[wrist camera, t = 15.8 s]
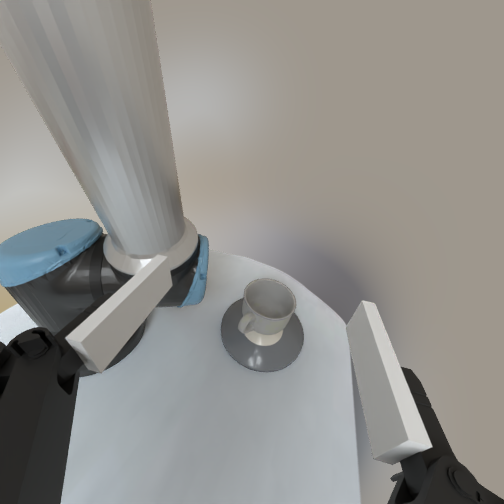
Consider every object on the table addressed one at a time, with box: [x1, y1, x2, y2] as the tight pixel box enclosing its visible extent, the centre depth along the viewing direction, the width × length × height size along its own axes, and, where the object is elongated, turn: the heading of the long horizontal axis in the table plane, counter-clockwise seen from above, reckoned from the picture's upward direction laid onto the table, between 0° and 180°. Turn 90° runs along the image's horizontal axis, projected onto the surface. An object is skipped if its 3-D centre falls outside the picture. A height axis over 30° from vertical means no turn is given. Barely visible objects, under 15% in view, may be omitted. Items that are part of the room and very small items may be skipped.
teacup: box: [238, 279, 296, 335], centre depth 42 cm, size 14×11×8 cm
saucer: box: [221, 298, 304, 372], centre depth 44 cm, size 18×18×1 cm
